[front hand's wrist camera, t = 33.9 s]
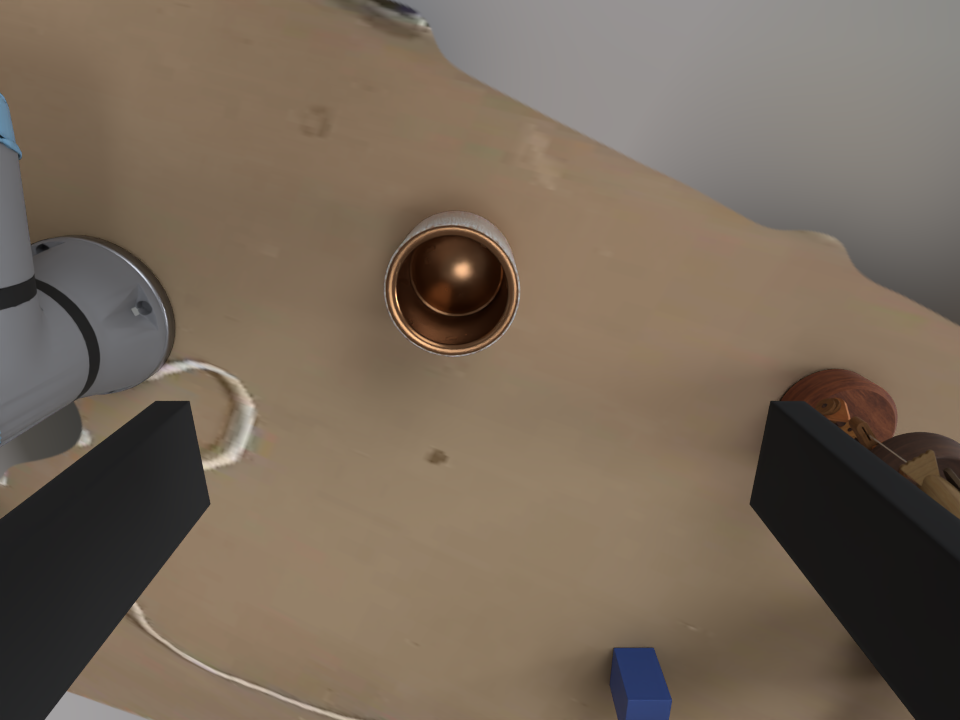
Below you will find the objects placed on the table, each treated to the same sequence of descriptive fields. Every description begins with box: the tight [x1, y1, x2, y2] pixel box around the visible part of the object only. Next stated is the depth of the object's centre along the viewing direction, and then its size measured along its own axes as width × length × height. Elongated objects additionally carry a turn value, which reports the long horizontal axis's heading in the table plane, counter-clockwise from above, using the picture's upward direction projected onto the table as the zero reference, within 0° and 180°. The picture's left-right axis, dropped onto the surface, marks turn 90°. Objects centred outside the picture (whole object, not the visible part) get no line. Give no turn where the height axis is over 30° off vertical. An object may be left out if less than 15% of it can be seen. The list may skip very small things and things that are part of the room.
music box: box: [781, 369, 960, 519], centre depth 48 cm, size 15×11×20 cm
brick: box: [610, 648, 672, 720], centre depth 67 cm, size 5×6×7 cm
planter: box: [384, 211, 520, 357], centre depth 47 cm, size 11×11×10 cm
